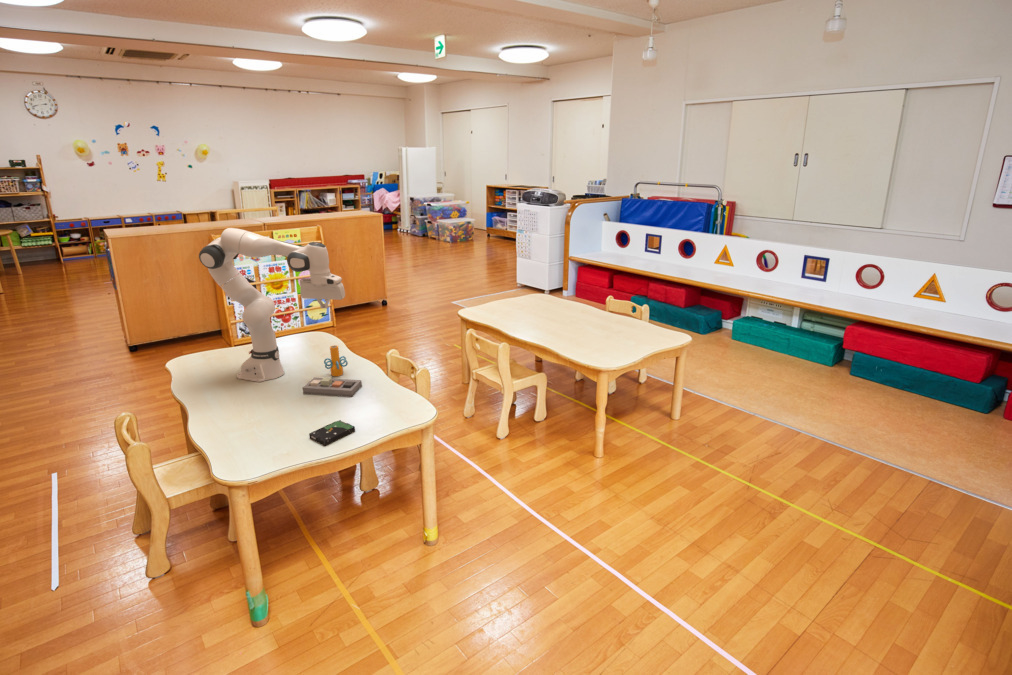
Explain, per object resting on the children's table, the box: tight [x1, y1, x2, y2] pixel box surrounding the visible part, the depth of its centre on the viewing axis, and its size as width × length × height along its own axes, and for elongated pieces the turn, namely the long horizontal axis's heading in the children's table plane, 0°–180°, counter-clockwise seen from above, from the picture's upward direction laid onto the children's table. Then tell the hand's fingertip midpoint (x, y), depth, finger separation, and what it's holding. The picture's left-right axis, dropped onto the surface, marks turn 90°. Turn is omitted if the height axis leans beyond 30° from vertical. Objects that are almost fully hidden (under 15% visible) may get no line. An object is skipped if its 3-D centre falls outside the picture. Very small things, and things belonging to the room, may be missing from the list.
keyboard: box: [302, 377, 363, 398], centre depth 263 cm, size 24×12×3 cm, turn 82°
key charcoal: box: [343, 382, 354, 388], centre depth 262 cm, size 4×4×2 cm
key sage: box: [321, 377, 332, 386], centre depth 263 cm, size 4×4×2 cm
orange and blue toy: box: [323, 345, 349, 377], centre depth 279 cm, size 12×10×15 cm
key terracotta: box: [332, 381, 343, 388], centre depth 262 cm, size 4×4×2 cm
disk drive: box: [308, 419, 356, 447], centre depth 224 cm, size 10×3×15 cm
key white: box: [310, 380, 321, 386], centre depth 264 cm, size 4×4×2 cm
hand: (324, 308), depth 255 cm, fingers closed
